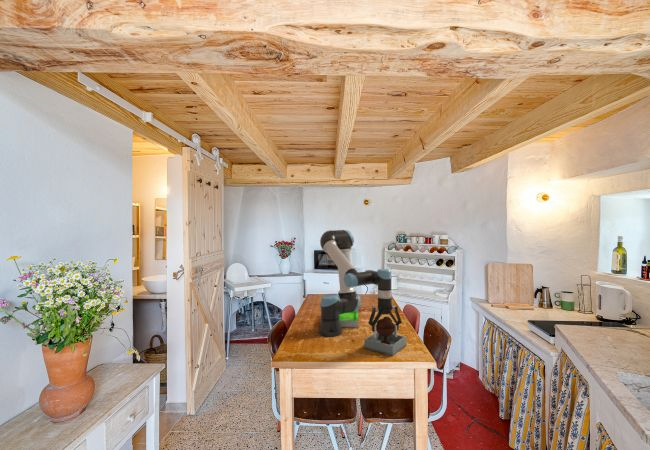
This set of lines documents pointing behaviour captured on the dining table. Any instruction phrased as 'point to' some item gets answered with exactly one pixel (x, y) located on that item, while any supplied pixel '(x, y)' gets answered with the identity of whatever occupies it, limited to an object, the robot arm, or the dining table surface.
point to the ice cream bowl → (385, 328)
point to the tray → (349, 319)
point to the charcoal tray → (391, 349)
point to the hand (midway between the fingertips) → (385, 336)
